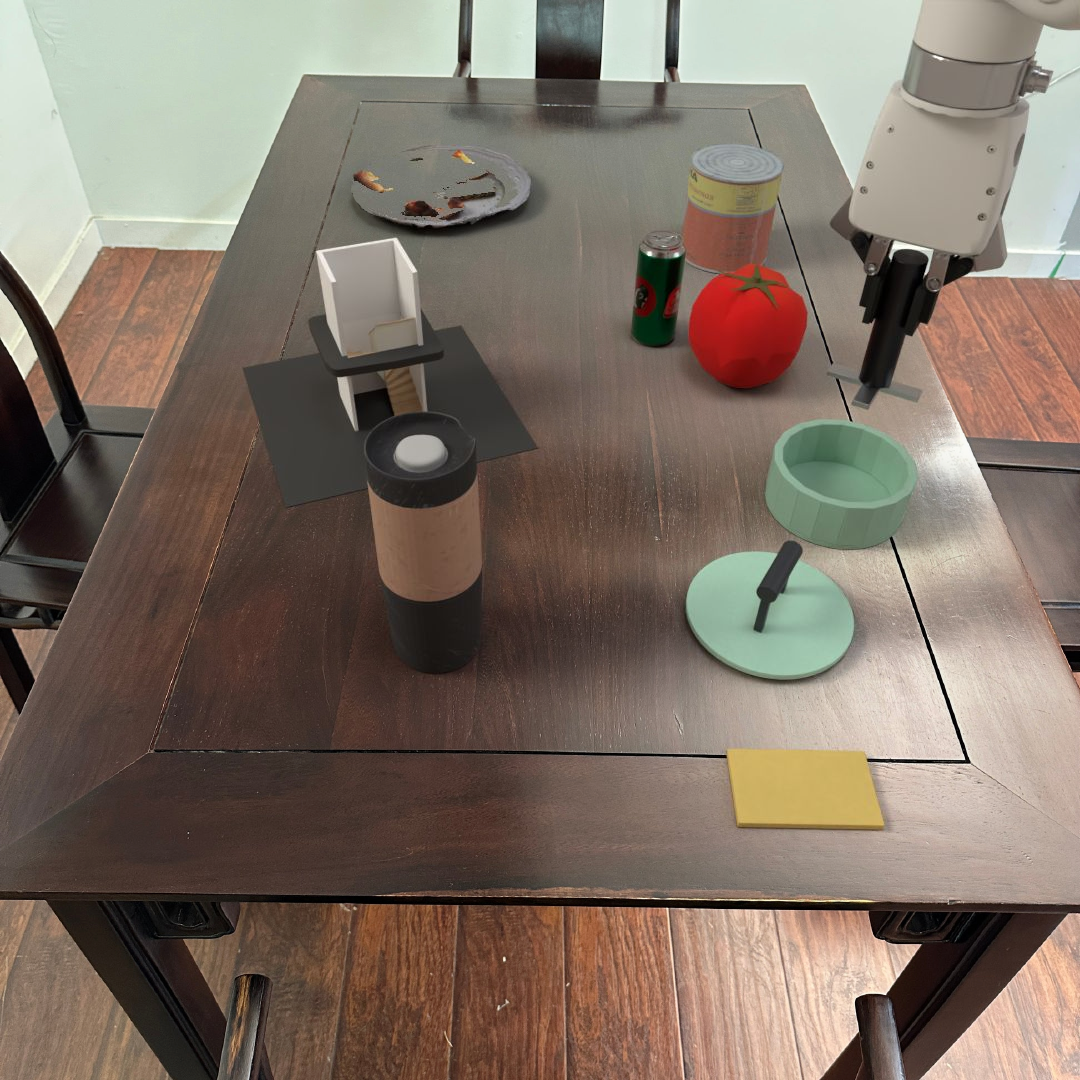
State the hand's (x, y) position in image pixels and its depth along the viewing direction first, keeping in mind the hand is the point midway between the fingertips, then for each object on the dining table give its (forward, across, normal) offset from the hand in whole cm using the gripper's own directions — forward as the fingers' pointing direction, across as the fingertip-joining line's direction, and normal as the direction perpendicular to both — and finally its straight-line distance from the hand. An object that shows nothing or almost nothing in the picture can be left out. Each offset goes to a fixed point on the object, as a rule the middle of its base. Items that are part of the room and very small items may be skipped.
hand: (892, 320), depth 76 cm
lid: (+19, +1, +16) cm, 25 cm away
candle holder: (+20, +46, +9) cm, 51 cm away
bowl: (+20, +1, -1) cm, 20 cm away
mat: (+20, -7, +30) cm, 37 cm away
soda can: (+20, +28, -18) cm, 38 cm away
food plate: (+19, +69, -35) cm, 80 cm away
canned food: (+20, +29, -41) cm, 54 cm away
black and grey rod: (+6, 0, 0) cm, 6 cm away
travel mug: (+20, +23, +32) cm, 44 cm away
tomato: (+20, +17, -17) cm, 31 cm away
